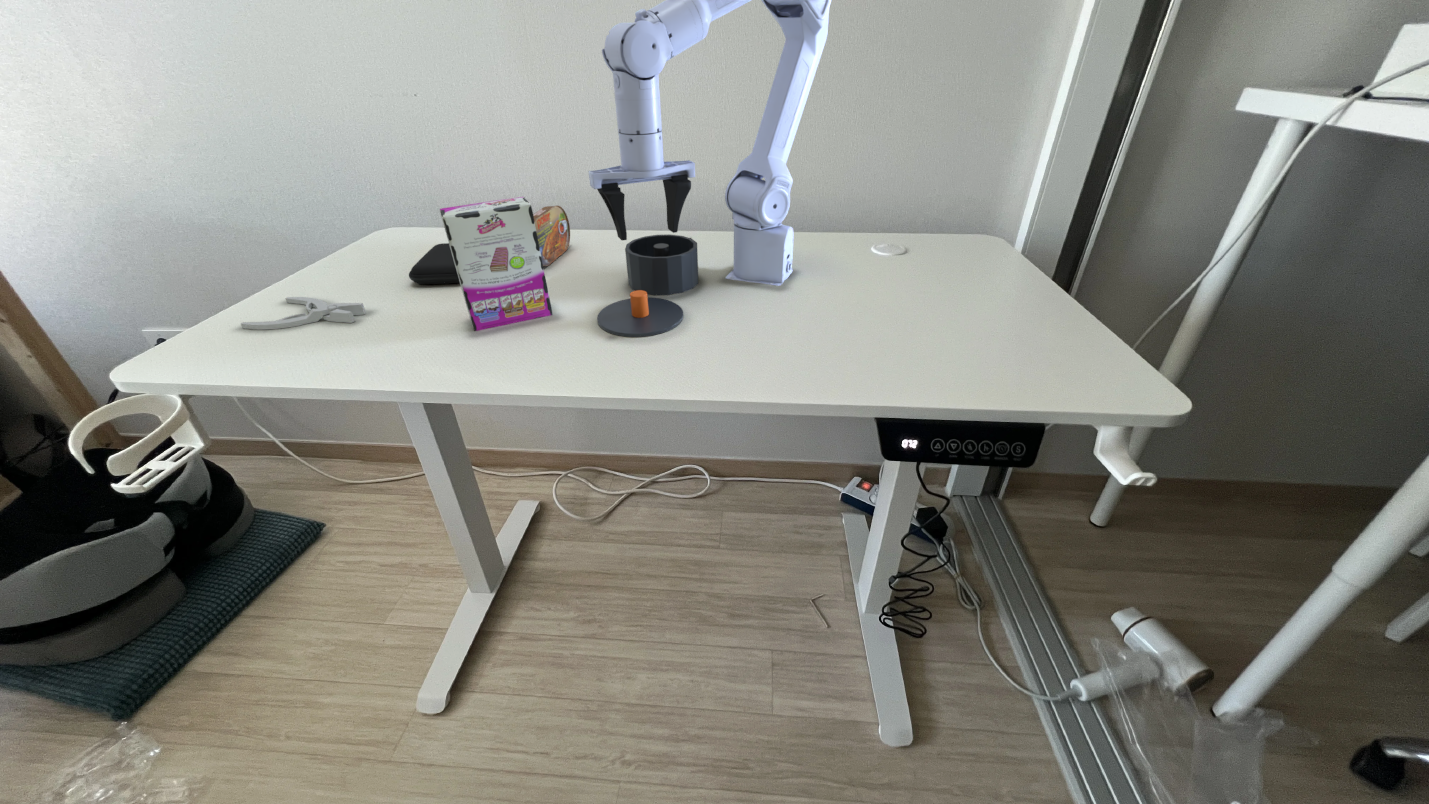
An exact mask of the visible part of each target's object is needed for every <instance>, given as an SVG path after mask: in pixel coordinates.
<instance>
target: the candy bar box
mask: <svg viewBox="0 0 1429 804" xmlns="http://www.w3.org/2000/svg"><path fill="white" fill-rule="evenodd" d="M533 211H534V210H533V208H532V204H531V202H529V200H527V199H526V197H525V196H519V197H511V198H503V199H496V200H490V201H483V202H475V203H469V204H462V205H456V206H449V207H441V208H439V213H440V217H441V220H442V224H443V228H444V232H445V235H446V238H447V243H449V246H450V249H451V253H452V256H453V260H454V263H455V267H456V271H457V274H458V278H459V281H460V283H459V285H460V288H461V291H462V296H463V299H464V302H465V307H466V309H467V314H468V316H469V319H470V323H471V326H472V329H473V331H474V332H477V331H483V330H488V329H492V328H493V329H494V328H497V327H501V326H507V325H513V324H516V323H521V322H526V321H531V320H537V319H540V318H546V317H550V316H553V314H554V313H553V308H552V304H551V300H550V299H551V298H550V293H549V288H548V282H547V279H546V274H545V269H544V266H543V263H542V258H541V252H540V247H539V242H538V236H537V232H536V227H535V222H534V216H533V214H534V212H533Z"/></svg>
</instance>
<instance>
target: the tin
mask: <svg viewBox="0 0 1429 804" xmlns="http://www.w3.org/2000/svg"><path fill="white" fill-rule="evenodd" d="M533 216H534V222H535V227H536V232H537V236H538V242H539V247H540V252H541V258H542V263H543V267H549V266H551V264H553V263H554V262H555V261H556V260H557V259H558V258H559V257H561V256H562V255H563V254H564V253H566V252H567V250H568V249H569V247H570V243H571V227H570V226H571V225H570V221H569V217H568V215H567V213H566V211H565V209H564V208H563V207H562V206H561V205H548V206H543V207H542V208H540V209H539V210H537V211H536V212H533Z"/></svg>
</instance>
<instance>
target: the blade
mask: <svg viewBox="0 0 1429 804" xmlns="http://www.w3.org/2000/svg"><path fill="white" fill-rule="evenodd" d="M667 256H669V245H668V244H664V243H660V244H655V245H654V257H667Z"/></svg>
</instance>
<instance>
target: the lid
mask: <svg viewBox="0 0 1429 804" xmlns="http://www.w3.org/2000/svg"><path fill="white" fill-rule="evenodd" d="M596 318H597V324H598V326H599V327H600V328H601V329H602V330H603V331H604V332H607V333H609V334H610V335H611V334H612V335H615V336H619V337H627V338H641V337H643V338H644V337H651V336H656V335H660V334H664V333H666V332H669V331H671V330H673V329H675V328H676V327H678V326H679V325H680V324H681V323H682V321H683V319H684V310H683V308H682V307H681V306H680V305H679V304H678V303H676V302H674V301H672V300H669V299H665V298H661V297H648V294H647V292H646V291H643V290H636V291H634V290H632V291H631V292H630V293H629V298H625V299H622V300H618V301H614V302H612V303H610V304H608V305H606V306H604V307H603V308H602V309H601V310H600V311H599V312H598V314H597V317H596Z"/></svg>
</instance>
